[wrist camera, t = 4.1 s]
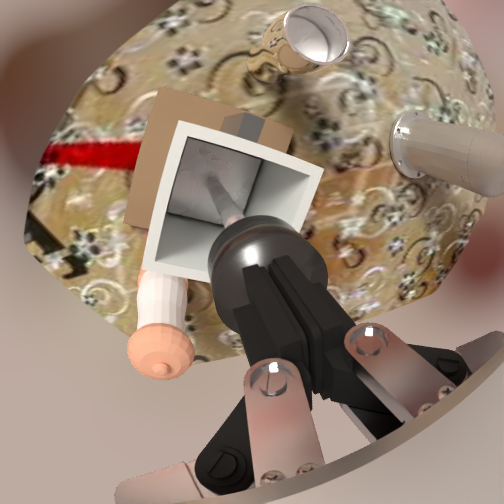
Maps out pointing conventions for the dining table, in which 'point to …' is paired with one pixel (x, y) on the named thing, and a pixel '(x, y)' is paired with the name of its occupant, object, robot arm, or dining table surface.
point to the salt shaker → (161, 327)
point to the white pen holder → (167, 164)
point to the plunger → (235, 223)
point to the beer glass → (299, 44)
